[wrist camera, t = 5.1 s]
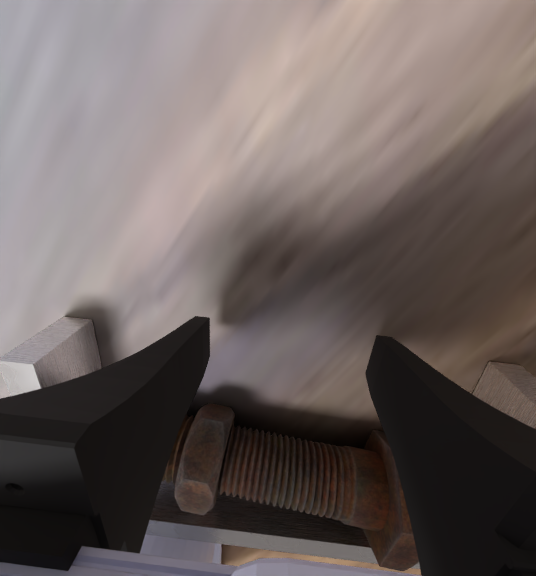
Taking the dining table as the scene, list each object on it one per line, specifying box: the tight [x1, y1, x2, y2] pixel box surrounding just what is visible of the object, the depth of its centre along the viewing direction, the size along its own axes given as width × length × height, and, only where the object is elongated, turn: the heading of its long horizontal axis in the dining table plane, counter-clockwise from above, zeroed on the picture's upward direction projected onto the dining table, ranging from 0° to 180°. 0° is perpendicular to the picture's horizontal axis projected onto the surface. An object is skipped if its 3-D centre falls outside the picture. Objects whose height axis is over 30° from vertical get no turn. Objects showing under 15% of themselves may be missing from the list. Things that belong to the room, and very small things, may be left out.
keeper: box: [0, 317, 536, 569], centre depth 14 cm, size 12×23×4 cm, turn 85°
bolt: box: [162, 403, 419, 571], centre depth 14 cm, size 6×5×15 cm
